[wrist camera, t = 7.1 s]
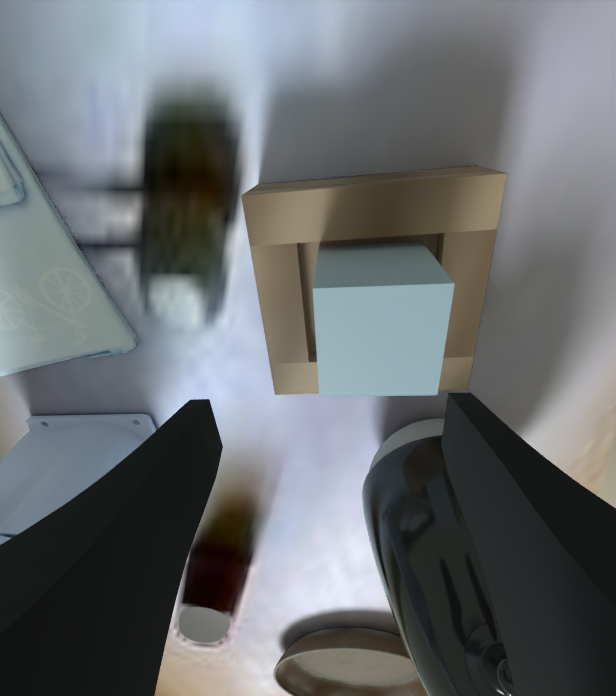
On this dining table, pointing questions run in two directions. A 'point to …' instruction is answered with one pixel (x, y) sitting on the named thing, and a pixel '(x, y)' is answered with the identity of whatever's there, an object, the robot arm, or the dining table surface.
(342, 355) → the blue block
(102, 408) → the dining table surface
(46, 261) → the paper napkin stack
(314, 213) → the square wooden tray
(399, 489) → the dark grey egg shape
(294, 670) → the plant saucer
